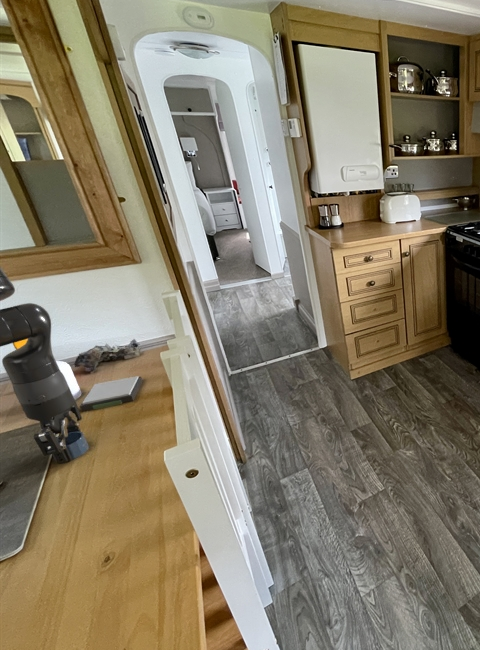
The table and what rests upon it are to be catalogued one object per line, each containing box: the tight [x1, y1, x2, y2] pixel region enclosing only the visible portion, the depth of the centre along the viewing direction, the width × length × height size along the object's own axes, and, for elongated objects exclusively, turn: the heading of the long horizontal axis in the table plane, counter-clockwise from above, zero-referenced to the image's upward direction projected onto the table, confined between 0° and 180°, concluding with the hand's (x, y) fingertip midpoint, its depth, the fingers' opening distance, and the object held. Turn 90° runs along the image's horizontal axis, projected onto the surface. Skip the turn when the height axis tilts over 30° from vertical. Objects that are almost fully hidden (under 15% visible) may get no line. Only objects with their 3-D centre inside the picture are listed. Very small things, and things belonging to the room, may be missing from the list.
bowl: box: [51, 431, 90, 462], centre depth 88 cm, size 6×6×4 cm
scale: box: [79, 375, 144, 412], centre depth 109 cm, size 11×11×3 cm
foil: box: [73, 338, 141, 374], centre depth 125 cm, size 12×11×15 cm
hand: (71, 451), depth 88 cm, fingers open, 6 cm apart
